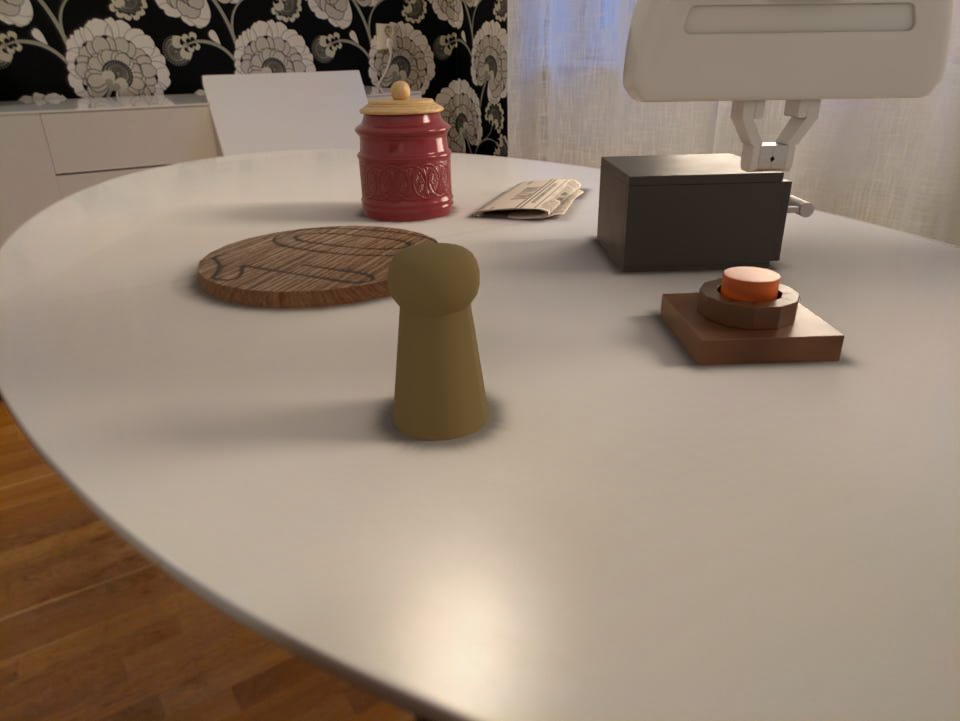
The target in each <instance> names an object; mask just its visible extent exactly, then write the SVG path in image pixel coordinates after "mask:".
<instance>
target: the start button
mask: <svg viewBox="0 0 960 721" xmlns="http://www.w3.org/2000/svg"><path fill="white" fill-rule="evenodd" d="M721 278H722V284H721V291H720V294H721V295H722V296H725V297H728V298H731V299H735V300H742V301H750V302H769V301H773V300H776V299H777V295H778V290H779V284H781V283H780V282H781V278H782V277H781V275H780V273H778V272H776V271H774V270H771V269H769V268H767V269H764V268H758V267H745V266H744V267H732V268H728V269H726V270H723V272H722V277H721Z"/></svg>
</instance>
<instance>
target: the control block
mask: <svg viewBox="0 0 960 721" xmlns="http://www.w3.org/2000/svg"><path fill="white" fill-rule="evenodd" d="M721 284H722V277H721V278H720V277H719V278H716V279H712V280H707V281H705V282H704V283H703V284H702V285H701V286H700V288H699V290H698V292H677V293H662V294H661V302H660V304H661V305H660V313H659V316H660V317H661V319H662V320H663V321H664V323H665V324H666V325H667V327H669V329H670V330H671V331H672V332H673V334H674V335H675V337H676V339H678V340H679V342H680V343H681V344H682V346H684V348H685V350H686V351H687V352H688V353H689V355H690V356H691V357H692V358H693V360H694V361H695V362H696V363H697V365H698V366H718V365H719V366H720V365H721V366H722V365H751V364H780V363H781V364H783V363H786V364H787V363H811V362H812V363H814V362H815V363H816V362H839V361H840V360H841V359H840V358H841V354H842V349H843V345H844V340H845V335H844V334H843V333H842V332H840V331H839V330H838V329H836V328H835V327H833V326H832V325H830V324H829V323H828V322H826V321H825V320H824V319H823V318H821V317H819V315H817V314H815V313H814V312H812V311H811V310H810V309H808V308H807V307H806V306H805V305H803V304H802V303H800V296H801V295H800V293H799V292H798V291H796V290H794V289H793V288H792V287H790V286H788V285H785V284H782V283H780V284H779V290H778V295H777V299H776V300H773V301H769V302H750V301H742V300H735V299H731V298H728V297H725V296H722V295H721V294H720V291H721Z"/></svg>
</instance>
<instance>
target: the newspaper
mask: <svg viewBox="0 0 960 721" xmlns="http://www.w3.org/2000/svg"><path fill="white" fill-rule="evenodd" d="M580 188H581V183H580V182H579V181H577V180H576V179H575V178H574V179H573V178H550V179H538V180H537V179H536V180H526V181H522V182H521V181H520V182H519V183H517V184H515V185H514V186H512V187H511V188H508V190H506V191H504V192H503V193H502V194H500V195H499V196H497V197H496V198H494V199H493V200H491V201H490V202H489V203H487V204H486V205H484V206H483V207H481V208H479V209H478V210H476V211H475V212H474V213H473V217H474V218H475V217H483V216H484V215H486V214H487V213H489V212H493V211H494V212H495V211H510V213H509V214H508V215H507V217H506V218H507V219H516V220H517V219H518V220H535V219H546V218H549V217H552V216H556V215H557V216H558V215H565V213H566V212H567V211H568V209H569V208H570V206H571V205H572V204H573V202H574V201H575V199H577V198H578V197H579V196H581V195H582V194H583V193H585V191H584V190H582V189H580Z"/></svg>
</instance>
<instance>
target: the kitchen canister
mask: <svg viewBox="0 0 960 721" xmlns="http://www.w3.org/2000/svg"><path fill="white" fill-rule="evenodd" d="M390 95H391V98H376V99H370V100H369V101H368V103H367V104H365V105H364V106H363V107H361V108H360V109H359V110H358V111H359V113H360V114H361V115H363V117H362V119H361V122H360V123H359V124H357V126H356V127H355V128H354V132H355V134H357V135H358V137H359V152H357V153H356V158H357V159H358V166H359V177H360V187H361V188H360V189H361V198H360V201H361V208H362V210H363V213H364V216H365V217H366V218H368V219H371V220H375V221H382V222H394V223H395V222H396V223H397V222H398V223H400V222H401V223H404V222H406V223H407V222H421V221H429V220H435V219H438V218H443V217H445V216H448V215H449V214H451V213H452V212H453V205H454V194H453V190H452V189H453V188H452V186H453V185H452V166H451V163H452V162H451V155H452V154H453V152H452V150H451V149H450V148H449V144H448V143H449V142H448V133H449V131H450V130H451V127H452V126H451V125H450V123H448V122H446V121H445V120H444V119H443V116H442V115H441V112H443V111H444V110H445V108H444V107H443V106H442V105H440V104H439V103H437V102H436V101H435V100H434V99H433V98H431V97H430V98H429V97H411V88H410V85H409V83H408V82H406V81H403V80H397V81H395V82H393V83H392V84H391V87H390Z"/></svg>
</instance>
